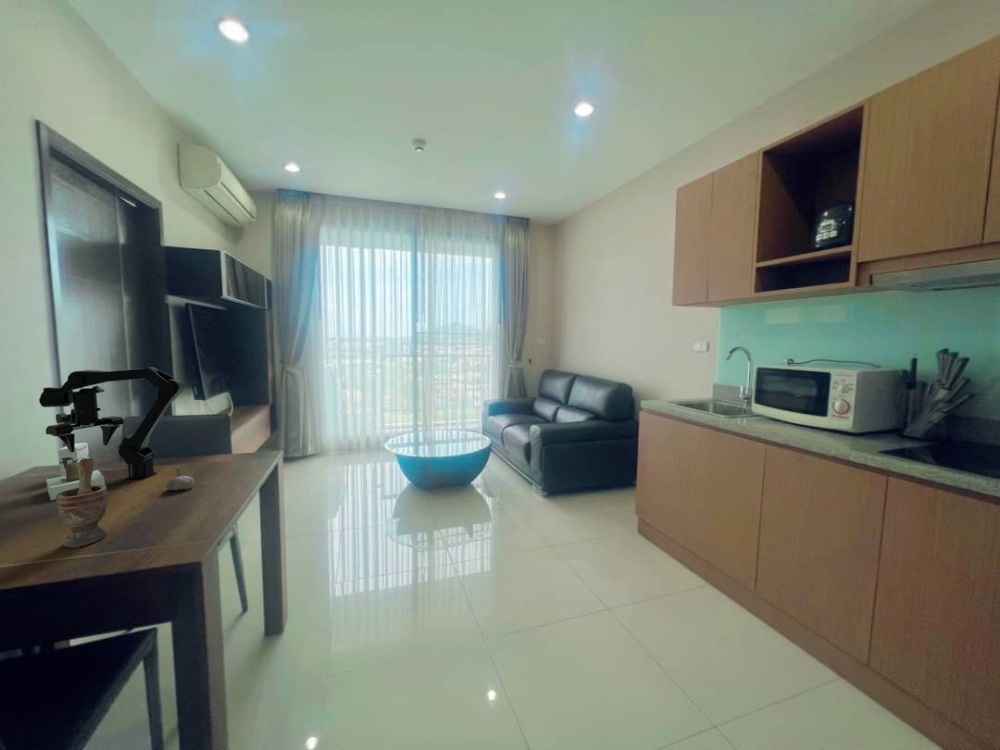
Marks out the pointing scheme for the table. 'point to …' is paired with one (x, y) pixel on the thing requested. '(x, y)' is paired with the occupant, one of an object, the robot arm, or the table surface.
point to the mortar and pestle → (83, 508)
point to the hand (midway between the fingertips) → (89, 448)
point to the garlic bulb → (180, 482)
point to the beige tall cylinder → (72, 472)
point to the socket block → (70, 484)
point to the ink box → (72, 456)
